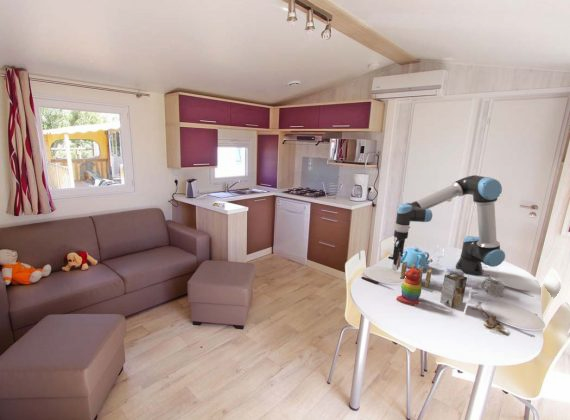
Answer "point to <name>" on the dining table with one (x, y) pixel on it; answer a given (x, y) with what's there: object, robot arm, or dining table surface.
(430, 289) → the domino mat
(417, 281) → the stacking bear
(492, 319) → the frog figurine
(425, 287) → the domino
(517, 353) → the dining table surface
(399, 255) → the domino
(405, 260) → the decorative pot
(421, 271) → the domino
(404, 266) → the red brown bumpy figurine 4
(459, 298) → the coffee box
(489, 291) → the mug
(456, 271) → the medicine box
